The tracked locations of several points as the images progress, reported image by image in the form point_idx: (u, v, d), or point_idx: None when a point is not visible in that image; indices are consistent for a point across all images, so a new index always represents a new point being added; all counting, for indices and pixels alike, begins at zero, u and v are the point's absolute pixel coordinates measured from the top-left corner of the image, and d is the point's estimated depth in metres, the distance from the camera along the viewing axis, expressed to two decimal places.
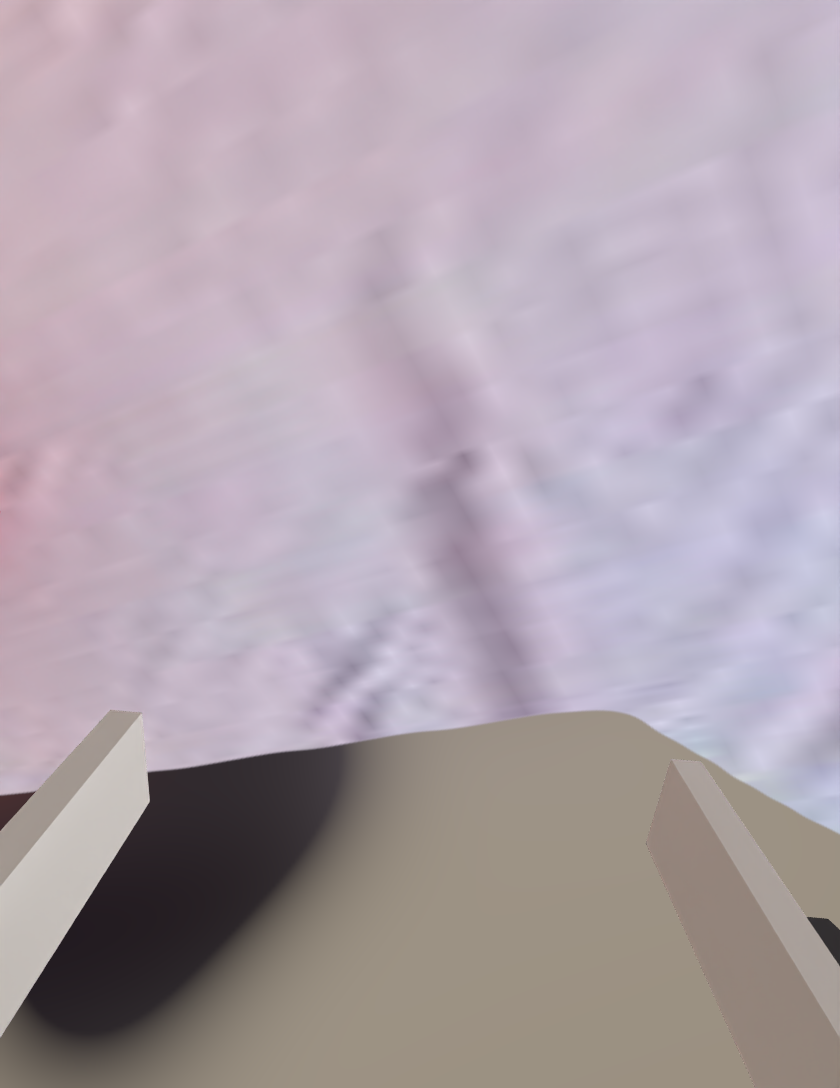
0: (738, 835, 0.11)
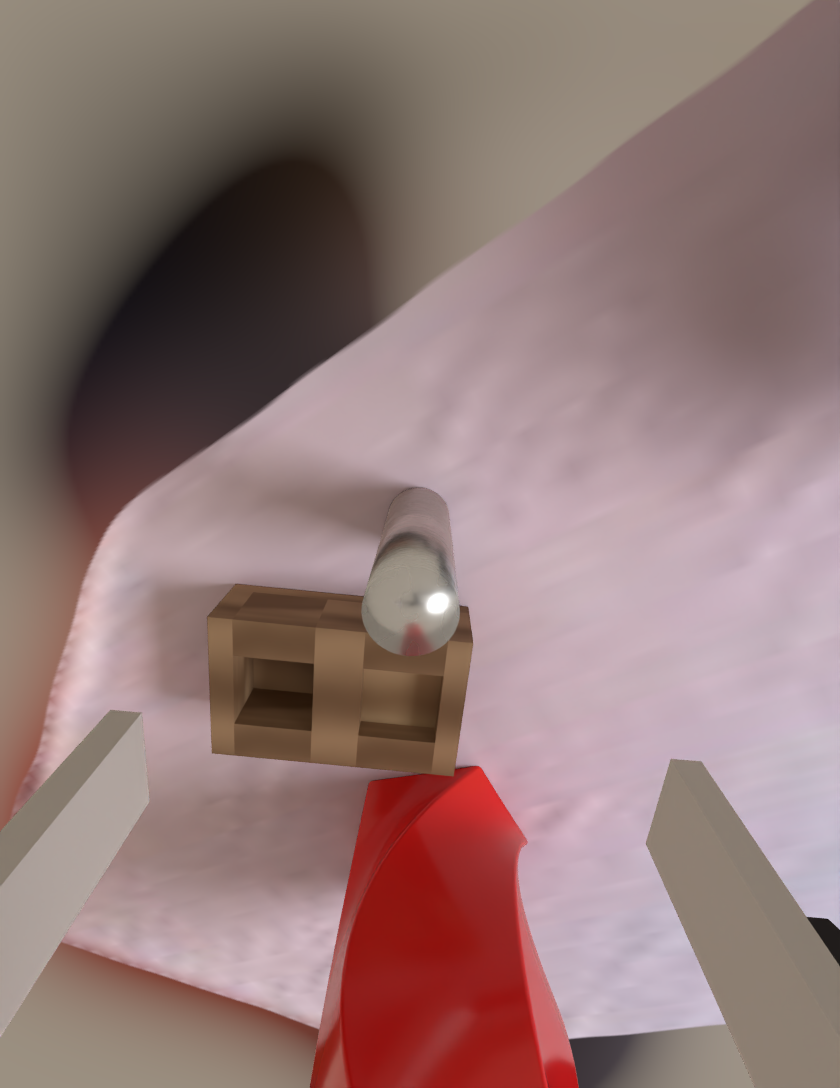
0: (738, 835, 0.11)
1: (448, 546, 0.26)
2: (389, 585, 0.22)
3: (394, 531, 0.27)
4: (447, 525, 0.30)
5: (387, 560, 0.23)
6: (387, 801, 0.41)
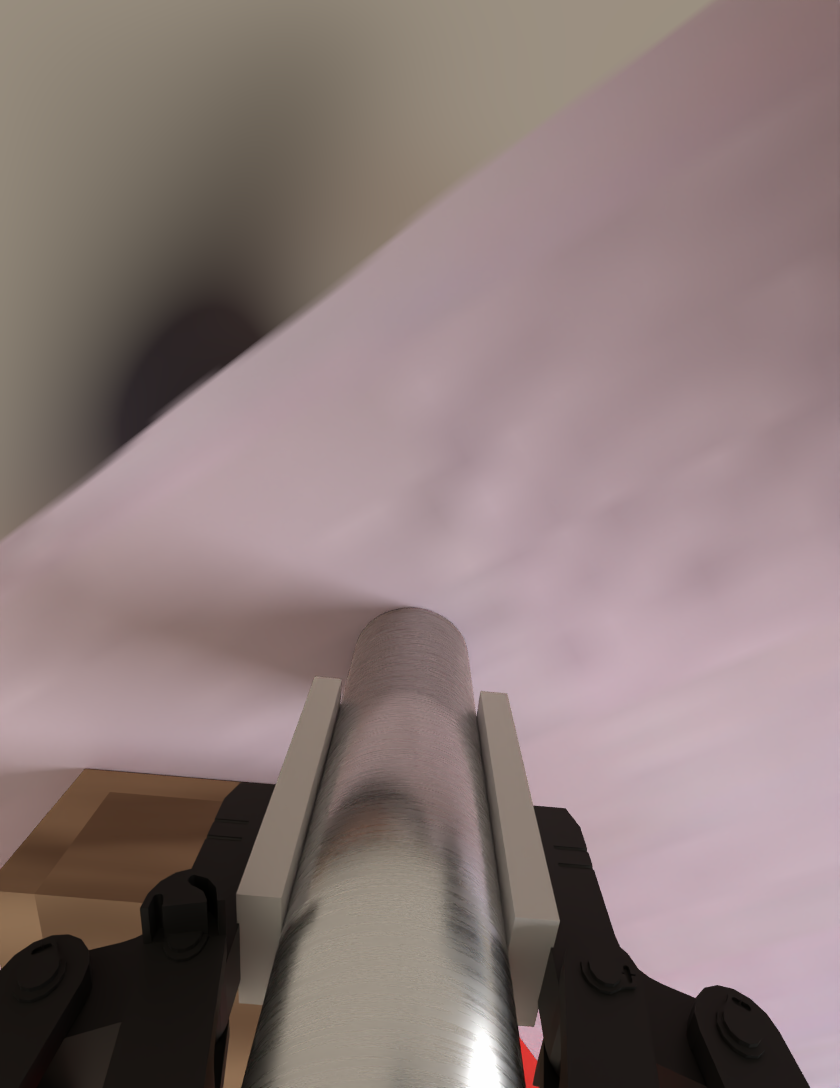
0: (507, 745, 0.13)
1: (484, 856, 0.10)
2: None
3: (344, 811, 0.10)
4: (472, 728, 0.14)
5: (293, 1084, 0.06)
6: None
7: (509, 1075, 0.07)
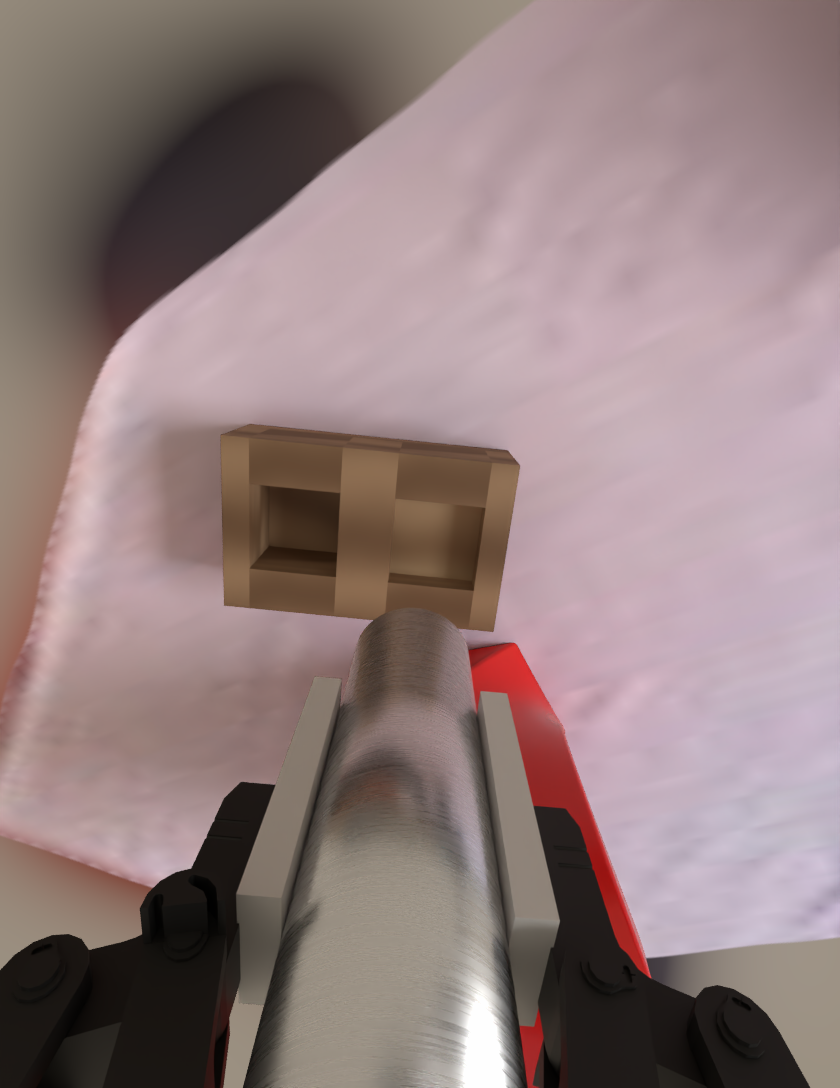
0: (507, 745, 0.13)
1: (486, 856, 0.10)
2: None
3: (346, 811, 0.10)
4: (473, 728, 0.14)
5: (295, 1083, 0.06)
6: None
7: (511, 1075, 0.07)
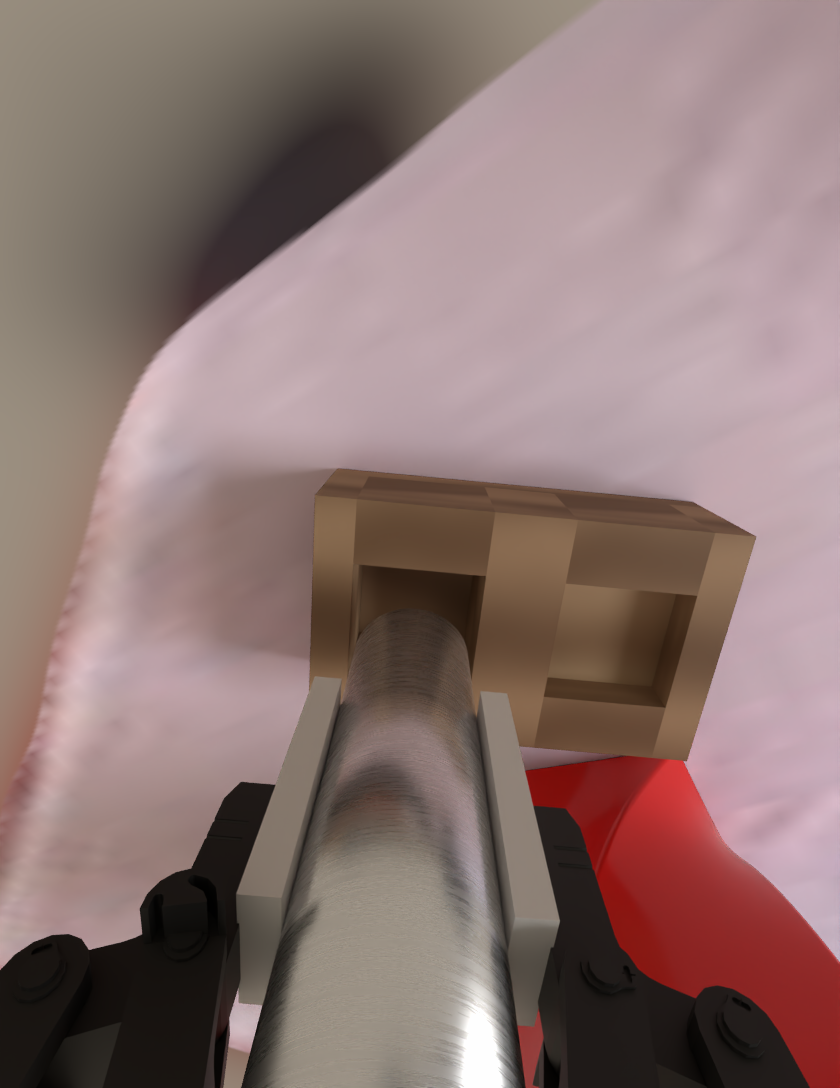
0: (507, 745, 0.13)
1: (484, 857, 0.10)
2: None
3: (344, 812, 0.10)
4: (471, 729, 0.14)
5: (293, 1085, 0.06)
6: (545, 800, 0.28)
7: (509, 1077, 0.07)
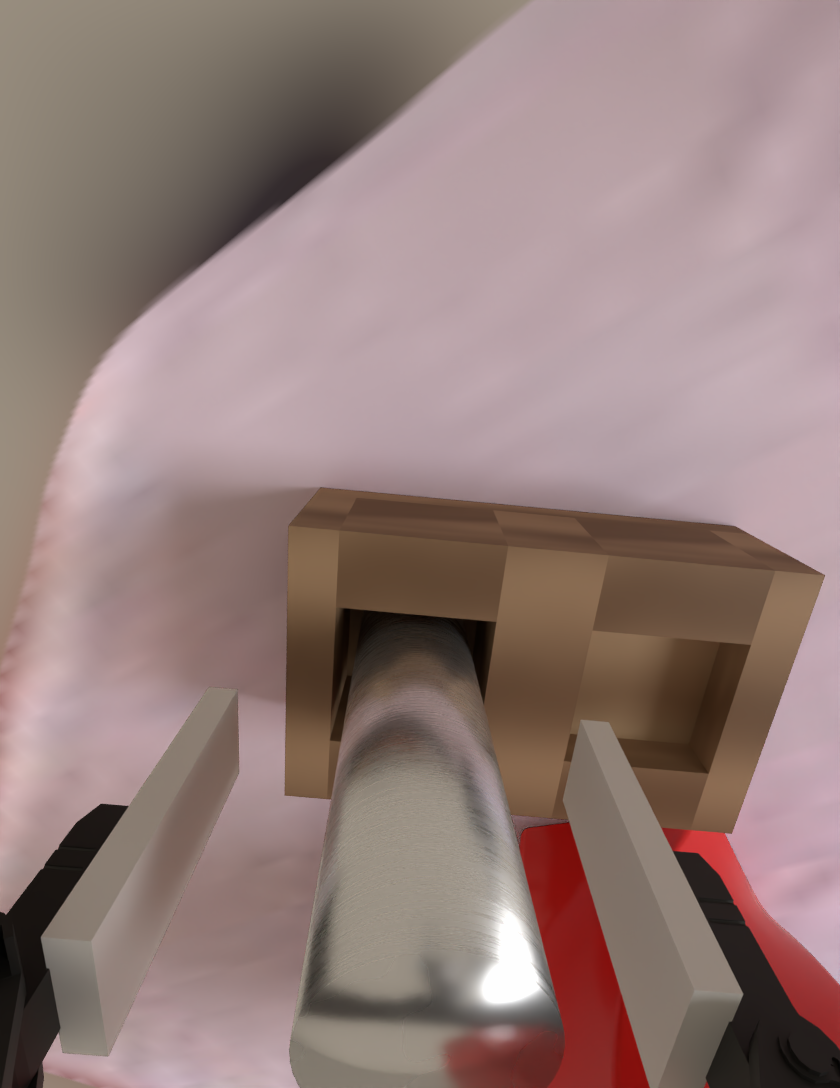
0: (626, 782, 0.12)
1: (490, 753, 0.12)
2: (368, 996, 0.07)
3: (375, 722, 0.13)
4: (472, 670, 0.16)
5: (362, 879, 0.09)
6: (561, 863, 0.25)
7: (520, 881, 0.09)
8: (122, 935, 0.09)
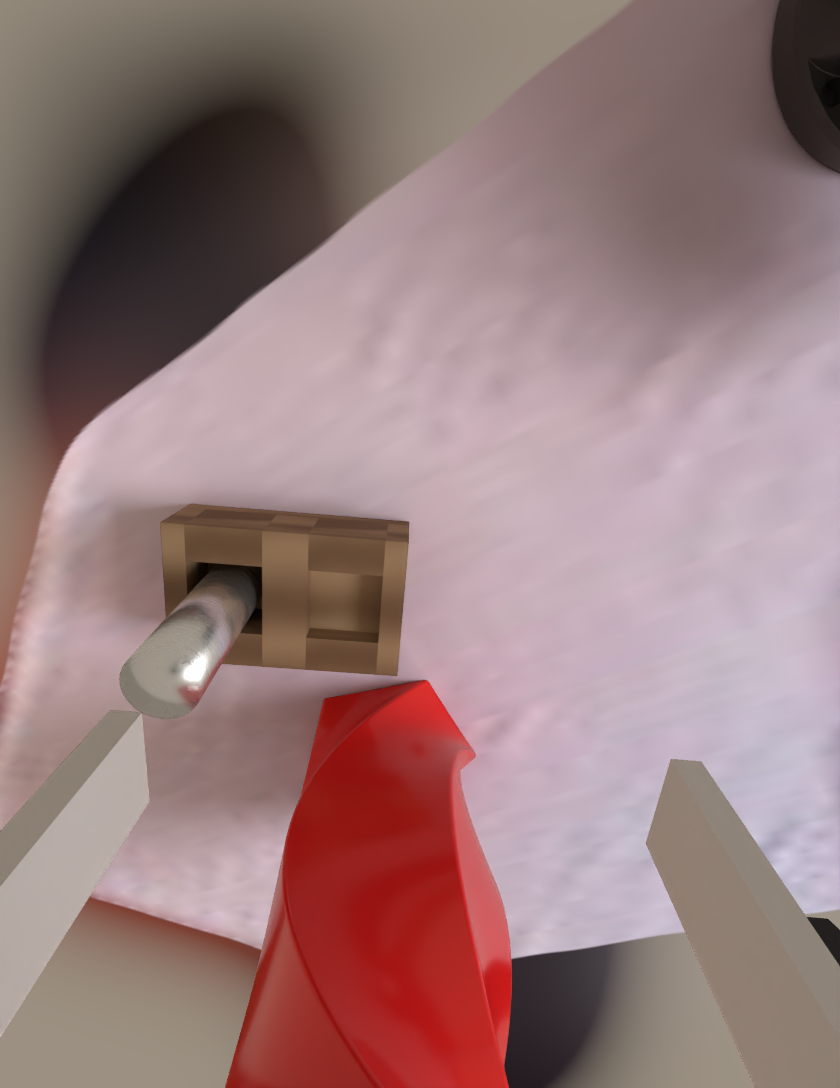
0: (738, 835, 0.11)
1: (224, 618, 0.31)
2: (139, 664, 0.27)
3: (179, 605, 0.32)
4: (244, 592, 0.35)
5: (147, 641, 0.28)
6: (340, 714, 0.44)
7: (204, 647, 0.28)
8: None
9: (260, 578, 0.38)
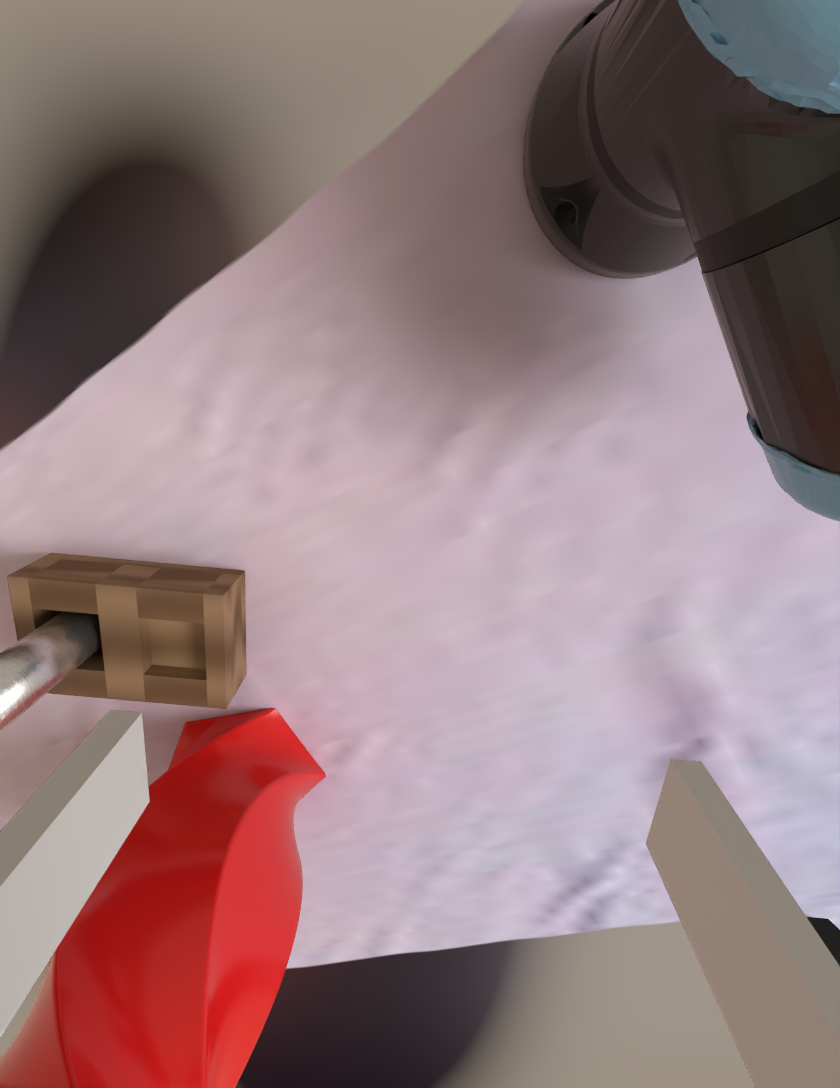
0: (738, 835, 0.11)
1: (41, 661, 0.37)
2: None
3: (5, 649, 0.37)
4: (78, 635, 0.40)
5: None
6: (196, 737, 0.49)
7: (5, 689, 0.34)
8: None
9: None
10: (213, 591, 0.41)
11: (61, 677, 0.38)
